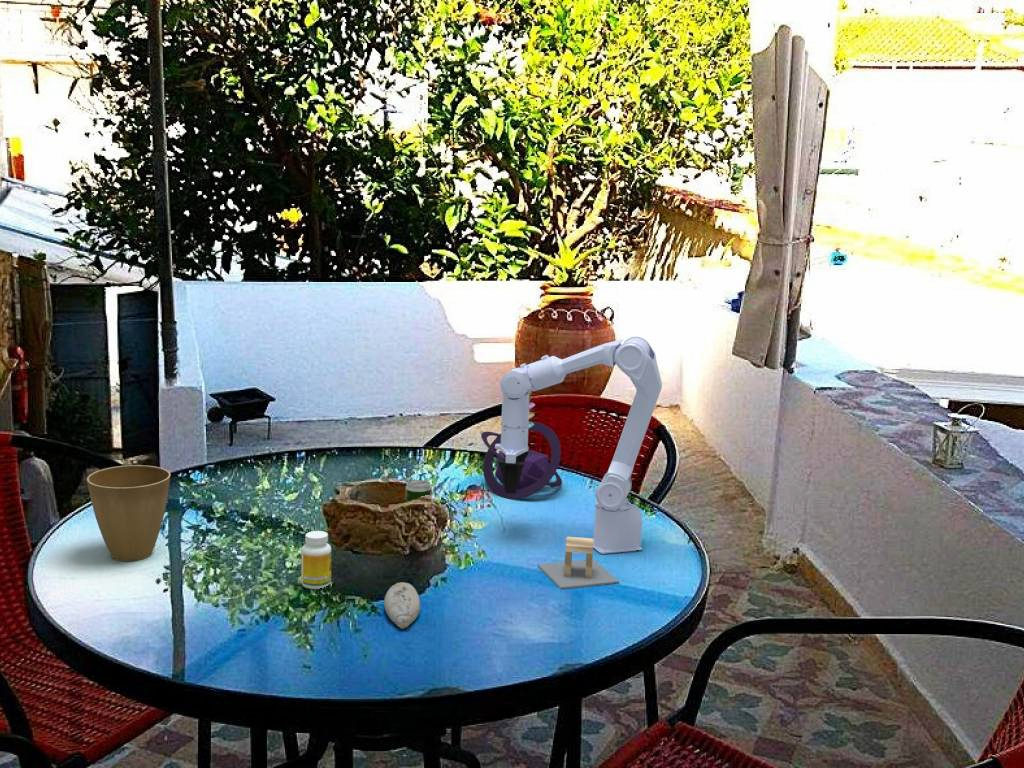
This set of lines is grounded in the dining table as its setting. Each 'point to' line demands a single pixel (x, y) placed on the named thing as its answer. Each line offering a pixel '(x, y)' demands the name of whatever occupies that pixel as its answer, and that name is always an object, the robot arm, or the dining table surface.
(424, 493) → the beer can
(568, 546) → the wooden u-frame
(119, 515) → the plant pot
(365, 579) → the dining table surface
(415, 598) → the decorative stone
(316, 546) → the supplement bottle
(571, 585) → the slate mat
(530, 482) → the decorative bottle
